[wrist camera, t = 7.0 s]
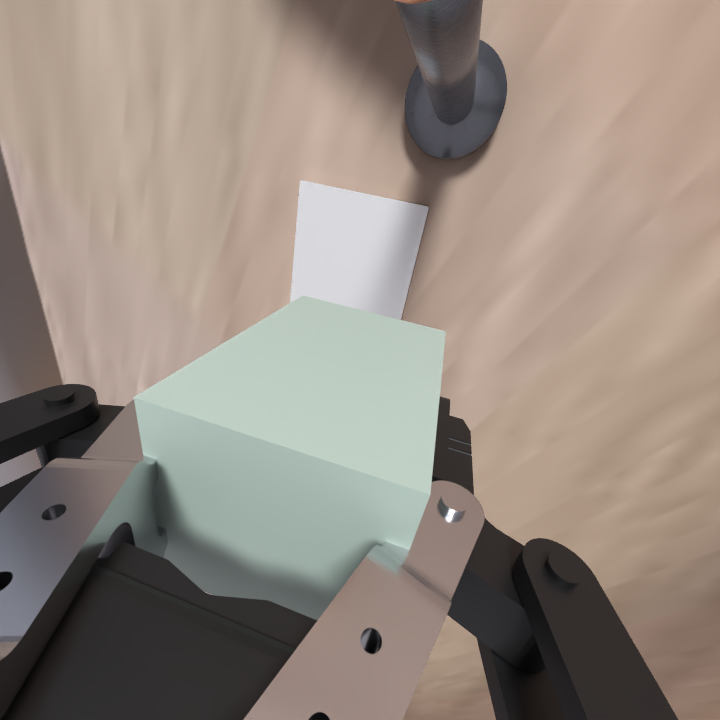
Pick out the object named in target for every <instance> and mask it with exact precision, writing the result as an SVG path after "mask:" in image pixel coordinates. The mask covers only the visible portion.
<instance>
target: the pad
mask: <svg viewBox="0 0 720 720" xmlns="http://www.w3.org/2000/svg"><path fill="white" fill-rule="evenodd" d="M428 210H429V207H428V206H423V205H419V204H414V203H409V202H404V201H399V200H394V199H390V198H385V197H380V196H375V195H370V194H366V193H361V192H356V191H351V190H346V189H341V188H337V187H332V186H327V185H322V184H317V183H312V182H308V181H303V180H300V188H299V200H298V212H297V224H296V236H295V248H294V260H293V273H292V285H291V297H290V303H291V302H293V301H294V300H296V299H298V298H299V297H301V296H307V297H311V298H315V299H319V300H323V301H327V302H331V303H335V304H339V305H343V306H347V307H351V308H355V309H359V310H363V311H367V312H371V313H375V314H379V315H383V316H387V317H391V318H395V319H399V320H401V318H402V314H403V310H404V306H405V302H406V298H407V294H408V290H409V286H410V282H411V278H412V274H413V270H414V266H415V262H416V258H417V254H418V250H419V246H420V242H421V238H422V234H423V230H424V226H425V222H426V218H427V214H428Z"/></svg>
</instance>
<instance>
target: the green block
mask: <svg viewBox="0 0 720 720" xmlns="http://www.w3.org/2000/svg"><path fill="white" fill-rule="evenodd" d="M445 335H446V331H443V330H439V329H435V328H431V327H427V326H423V325H419V324H415V323H411V322H407V321H403V320H399V319H395V318H391V317H387V316H383V315H379V314H375V313H371V312H367V311H363V310H359V309H355V308H351V307H347V306H343V305H339V304H335V303H331V302H327V301H323V300H319V299H315V298H311V297H307V296H301V297H299V298H298V299H296V300H294V301H293V302H291V303H289V304H288V305H286V306H284V307H283V308H281V309H279V310H278V311H276V312H274V313H273V314H271V315H269V316H268V317H266V318H264V319H263V320H261V321H260V322H258V323H256V324H255V325H253V326H251V327H250V328H248V329H246V330H245V331H243V332H241V333H240V334H238V335H236V336H235V337H233V338H231V339H230V340H228V341H226V342H225V343H223V344H221V345H220V346H218V347H216V348H215V349H213V350H211V351H210V352H208V353H206V354H205V355H203V356H201V357H200V358H198V359H196V360H195V361H193V362H191V363H190V364H188V365H186V366H185V367H183V368H181V369H180V370H178V371H176V372H175V373H173V374H171V375H170V376H168V377H167V378H165V379H163V380H162V381H160V382H158V383H157V384H155V385H153V386H152V387H150V388H148V389H147V390H145V391H143V392H142V393H140V394H138V395H137V396H135V397H134V403H135V409H136V415H137V421H138V427H139V433H140V439H141V445H142V451H143V455H145V456H147V457H150V458H153V459H156V462H157V469H158V476H159V478H158V480H157V482H156V485H155V489H154V494H153V505H154V511H155V517H156V523H157V526H160V527H162V528H165V529H166V531H167V538H168V544H167V547H166V550H165V554H164V558H165V559H167V560H169V561H170V562H171V563H172V564H174V565H175V566H176V567H177V568H178V569H179V570H180V571H181V572H182V573H184V574H185V575H186V576H187V577H188V578H189V579H190V580H191V581H192V582H194V583H195V584H196V585H197V586H198V587H199V588H200V589H201V590H202V591H205V592H207V593H210V594H212V595H215V596H226V597H237V598H248V599H259V600H268V601H271V602H273V603H276V604H278V605H281V606H283V607H286V608H288V609H291V610H293V611H296V612H298V613H300V614H303V615H305V616H308V617H310V618H313V619H315V620H318V619H319V618H320V617H321V615H322V614H323V613H324V611H325V610H326V609H327V607H328V606H329V605H330V603H331V602H332V601H333V599H334V598H335V597H336V595H337V594H338V593H339V591H340V590H341V589H342V587H343V586H344V584H345V583H346V582H347V580H348V579H349V578H350V576H351V575H352V574H353V572H354V571H355V570H356V568H357V567H358V566H359V564H360V563H361V562H362V560H363V559H364V558H365V556H366V555H367V554H368V553H369V551H370V550H371V549H372V548H373V547H374V546H376V545H378V546H380V547H381V546H382V545H383V544H384V543H385V541H386V542H389V543H391V544H394V545H397V546H400V547H403V548H405V549H408V550H410V547H411V545H412V542H413V539H414V537H415V534H416V531H417V529H418V526H419V524H420V521H421V518H422V516H423V513H424V510H425V508H426V505H427V502H428V500H429V497H430V494H431V483H432V472H433V462H434V451H435V441H436V430H437V420H438V409H439V398H440V388H441V377H442V367H443V356H444V346H445Z"/></svg>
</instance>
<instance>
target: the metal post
mask: <svg viewBox="0 0 720 720" xmlns="http://www.w3.org/2000/svg"><path fill="white" fill-rule="evenodd" d="M393 1H396V3H397V6H398V9H399V12H400V15H401V18H402V20H403V23H404V26H405V29H406V32H407V35H408V37H409V40H410V43H411V46H412V49H413V52H414V55H415V57H416V60H417V63H418V66H417V68H416V69H415V71H414V73H413V75H412V77H411V80H410V82H409V85H408V89H407V93H406V99H405V117H406V122H407V126H408V129H409V132H410V134H411V136H412V138H413V139H414V141H415V142H416V143H417V145H418V146H419V147H420V148H421V149H422V150H423V151H424V152H425V153H427V154H429V155H430V156H432V157H435V158H438V159H442V160H454V159H459V158H462V157H465V156H467V155H469V154H471V153H472V152H474V151H476V150H477V149H478V148H479V147H481V146H482V145H483V144H484V143H485V142H486V141H487V140H488V138H489V137H490V136H491V134H492V133H493V131H494V130H495V128H496V126H497V124H498V122H499V120H500V117H501V115H502V112H503V109H504V105H505V101H506V94H507V80H506V74H505V69H504V66H503V64H502V61H501V59H500V58H499V56H498V54H497V53H496V52H495V50H494V49H493V48H492V47H490V46H489V45H488V44H487V43H485V42H483V41H481V40H479V38H480V26H481V14H482V2H483V0H393Z"/></svg>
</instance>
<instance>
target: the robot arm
mask: <svg viewBox="0 0 720 720" xmlns="http://www.w3.org/2000/svg"><path fill="white" fill-rule="evenodd" d="M449 412H450V399H447V398H444V397H440V398H439V409H438V420H437V430H436V441H435V451H434V462H433V472H432V483H431V494H430V497H429V500H428V502H427V505H426V508H425V510H424V513H423V516H422V518H421V521H420V524H419V526H418V529H417V531H416V534H415V537H414V539H413V542H412V545H411V547H410V550H408V549H405V548H403V547H400V546H397V545H394V544H391V543H389V542H386V541H385V543H384V544H383V545H382V546H381V547H380V546H378V545H376V546H374V547H373V548H372V549H371V550H370V551H369V553H368V554H367V555H366V556H365V558H364V559H363V560H362V562H361V563H360V564H359V566H358V567H357V568H356V570H355V571H354V572H353V574H352V575H351V576H350V578H349V579H348V580H347V582H346V583H345V584H344V586H343V587H342V589H341V590H340V591H339V593H338V594H337V595H336V597H335V598H334V599H333V601H332V602H331V603H330V605H329V606H328V607H327V609H326V610H325V611H324V613H323V614H322V615H321V617H320V618H319V619H318V620H315V619H313V618H310V617H308V616H305V615H303V614H300V613H298V612H296V611H293V610H291V609H288V608H286V607H283V606H281V605H278V604H276V603H273V602H271V601H268V600H259V599H248V598H237V597H226V596H215V595H209V594H207V593H205V592H204V591H202V590H201V589H200V588H199V587H198V586H197V585H196V584H195V583H194V582H192V581H191V580H190V579H189V578H188V577H187V576H186V575H185V574H184V573H182V572H181V571H180V570H179V569H178V568H177V567H176V566H175V565H174V564H172V563H171V562H170V561H169V560H167V559H165V558H164V554H165V550H166V547H167V544H168V538H167V531H166V529H165V528H162V527H160V526H157V523H156V517H155V511H154V505H153V494H154V489H155V485H156V482H157V480H158V478H159V476H158V469H157V462H156V459H153V458H150V457H147V456H145V455H143V451H142V445H141V439H140V433H139V427H138V421H137V415H136V409H135V403H134V400H133V401H131V402H130V403H129V404H127V405H126V407H124V406H111V405H99V404H98V400H97V396H96V392H95V390H94V389H92V388H91V387H89V386H85V385H80V384H66V385H58V386H54V387H49V388H46V389H43V390H40V391H37V392H34V393H31V394H27V395H25V396H21V397H18V398H15V399H12V400H9V401H6V402H3V403H0V464H1V463H3V462H6V461H8V460H10V459H13V458H15V457H17V456H19V455H22V454H24V453H26V452H28V451H31V450H33V449H36V452H37V454H38V457H39V460H40V463H41V466H42V468H40V469H38V470H36V471H33V472H31V473H29V474H27V475H25V476H23V477H21V478H19V479H17V480H15V481H13V482H10V483H9V484H6V485H5V486H2V487H0V720H403V718H404V715H405V713H406V711H407V708H408V706H409V704H410V701H411V699H412V696H413V694H414V692H415V689H416V687H417V685H418V682H419V680H420V677H421V675H422V673H423V670H424V668H425V666H426V663H427V661H428V659H429V656H430V654H431V651H432V649H433V647H434V644H435V642H436V640H437V637H438V635H439V632H440V630H441V628H442V625H443V623H444V621H445V618H446V616H447V615H448V616H450V617H451V618H452V619H454V620H455V621H456V622H457V623H459V624H460V625H461V626H463V627H464V628H465V629H466V630H468V631H469V632H470V633H472V634H473V635H474V636H475V637H477V641H478V646H479V650H480V654H481V658H482V662H483V666H484V671H485V675H486V679H487V683H488V687H489V691H490V696H491V700H492V704H493V708H494V712H495V716H496V720H678V718H677V717H676V715H675V713H674V712H673V710H672V708H671V706H670V705H669V703H668V701H667V699H666V698H665V696H664V694H663V693H662V691H661V689H660V687H659V686H658V684H657V682H656V680H655V679H654V677H653V675H652V674H651V672H650V670H649V668H648V667H647V665H646V663H645V662H644V660H643V658H642V656H641V655H640V653H639V651H638V649H637V648H636V646H635V644H634V643H633V641H632V639H631V637H630V636H629V634H628V632H627V631H626V629H625V627H624V625H623V624H622V622H621V620H620V618H619V617H618V615H617V613H616V612H615V610H614V608H613V606H612V605H611V603H610V601H609V599H608V598H607V596H606V594H605V593H604V591H603V589H602V587H601V586H600V584H599V582H598V581H597V579H596V577H595V576H594V574H593V572H592V571H591V570H590V568H589V567H588V566H587V565H586V564H585V563H584V562H583V560H582V559H581V558H579V557H578V556H577V555H576V554H575V553H574V552H572V551H571V550H569V549H568V548H566V547H565V546H563V545H561V544H559V543H557V542H555V541H552V540H548V539H543V538H537V539H532V540H530V541H529V542H527V543H526V545H525V546H523V545H522V544H520V543H519V542H517V541H515V540H514V539H512V538H510V537H509V536H507V535H506V534H504V533H502V532H501V531H499V530H498V529H496V528H495V527H494V526H493V525H492V524H490V523H489V522H488V521H487V520H486V519H485V516H484V511H483V508H482V506H481V504H480V502H479V501H478V500H477V498H476V497H475V496H474V489H473V471H472V456H471V454H472V452H471V434H470V430H469V429H468V427H467V425H466V424H465V422H464V420H463V419H460V418H456V417H453V416H449Z"/></svg>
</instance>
